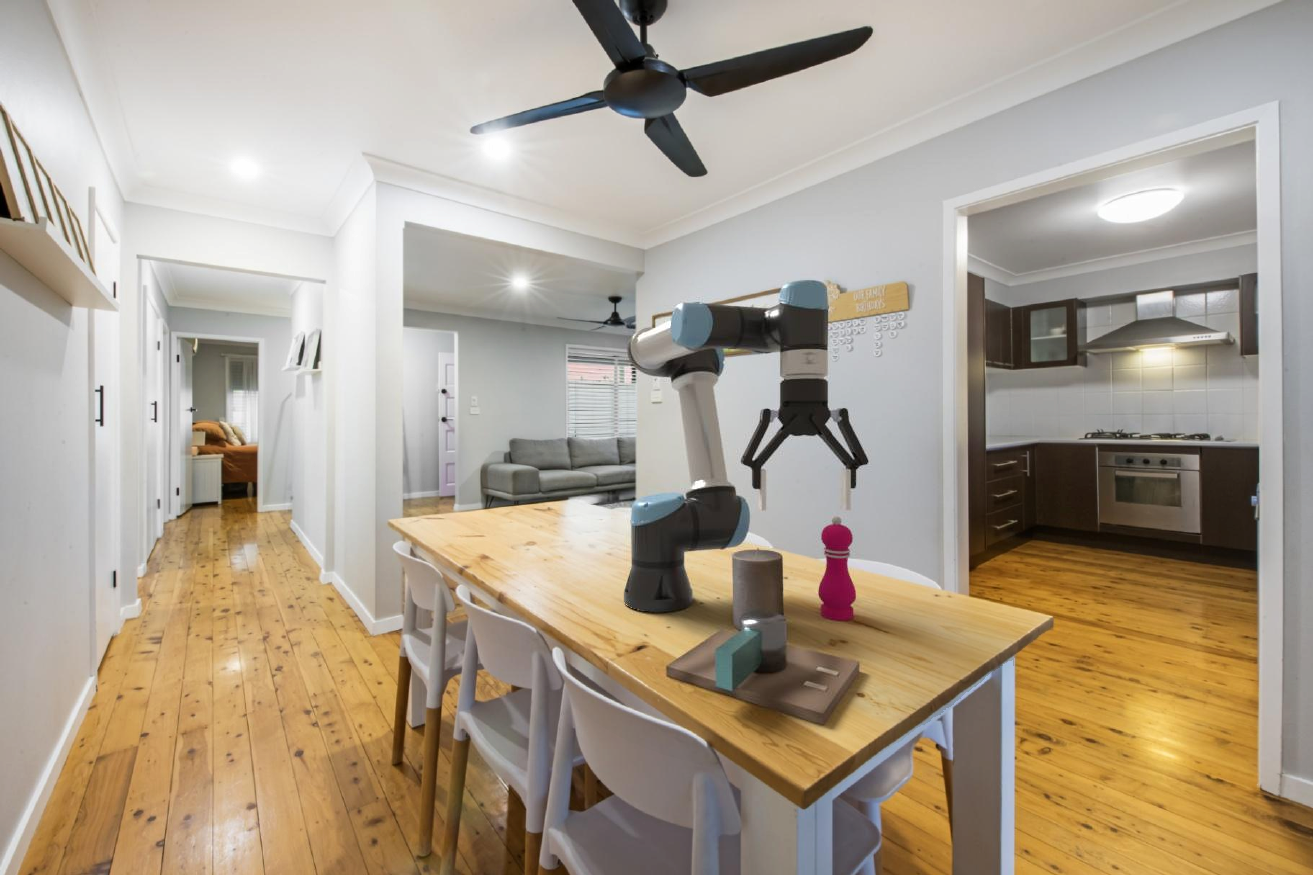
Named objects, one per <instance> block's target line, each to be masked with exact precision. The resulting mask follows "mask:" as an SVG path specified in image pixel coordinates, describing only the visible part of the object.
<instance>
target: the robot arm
mask: <svg viewBox="0 0 1313 875" xmlns="http://www.w3.org/2000/svg"><path fill="white" fill-rule="evenodd" d="M828 299H829V298H828V286H827V285H826V284H825V283H824V282H822V281H819V280H815V279H814V280H813V279H800V280H793V281H791V282H788V283H787V282H786V283H785V284H783V286H782V287H781V289H780V291H779V298H778V302H779V303H778V304H776V305H773V306H771V307H758V306H756V307H755V306H741V305H740V306H739V305H726V304H714V303H706V302H705V303H704V302H700V301H693V302H680V303H679V304H677V305H676V306H675V307H674V311H673V312H672V314H671V317H670V318H671V319H670V320H668V321H666V322H664V323H662V324H660V325H658V326H656V327H650V326H649V327H644V328H641V329H640V330H638V331H636V332H634V334H632V336H631V337H630V339H629V341H628V343H627V349H626V352H627V357H628V360H629V363H630V364H632V366H633V367H634V368H635V369H636V370H637V371H639V372H640V373H642V374H644V375H647V376H650V377H657V378H670V382H671V387H672V388H673V389H674V390H675V391H677V392H678V397H679V404H680V411H681V412H680V413H681V419H682V420H681V421H682V427H683V428H682V429H683V434H684V442H685V451H686V457H687V463H688V464H687V466H688V472H689V481H690V486H689V488H688V489H687V490H686V491H685V497H684V494H683V493H680V492H667V493H666V492H663V493H661V492H660V493H654V494H650V495H646V496H642V497H640V498H638V499H636V500H635V501H634V502H633V503H632V505H631V510H630V511H631V513H630V514H631V515H630V521H629V523H630V527H631V528H630V530H631V531H630V532H631V533H630V534H631V535H630V540H631V541H630V543H631V545H630V546H631V549H630V550H631V566H630V570H629V574H628V577H627V581H626V583H625V588H624V590H623V603H624V602H625V604H627V605H628V606H629V607H632V608H635V609H639V610H643V611H642V612H644V611H649V612H648V613H670V612H676V610H677V611H680V609H681V610H684V609H686V608H688V607H690V606H691V605H692V604H693V596H694V595H693V593H694V592H693V589H692V587H691V583H690V579H689V577H688V572H687V570H686V567H685V553H686V552H687V553H688V552H697V551H699V552H701V551H710V550H726V549H730V548H731V549H732V548H735V547H738V546H740V545H741V544H743V542H744V541H745V540H746V539H747V535H748V532H749V529H750V526H751V525H750V523H751V512H750V511H751V510H750V507H749V504H748V502H747V500H746V498H745V497H743V496H741V495H737V491H736V486H735V485H734V484H732V483H731V482H730V481H729V479H728V475H727V468H726V463H725V456H724V448H723V442H722V434H721V429H720V423H719V417H718V409H717V403H716V397H715V396H716V395H715V391H714V390H715V389H714V387H715V386H716V385H717V384H718V383H717V382H719V377H720V376H721V375H722V374H723V372H724V367H725V364H724V362H725V352H724V351H725V350H735V351H736V350H737V351H748V352H750V353H752V354H755V355H760V354H761V355H762V354H766V355H767V354H771V353H774V352H776V351H778V350H779V376H780V378H782V379H783V380H781V382H780V383H779V408H778V410H775V409H770V408H768V407H767V408H762V409H761V410H760V413H759V414H760V415H759V422H758V424H757V426H756V429H755V431H754V433H753V435H752V436H751V438H750V440H749V442H748V444H747V445H746V446H747V447H746V448H745V450H744V452H743V454H742V456H741V459H740V463H741V464H742V465H743V466H747V467H748V468H751V486H752V488H753V489H754V490H757V491H758V492H757V497H758V498H757V499H758V500H757V503H758V504H757V508H758V509H759V510H760V511H767V469H764V468H762V467H763V466H764V465H765V464H766V463H767V462H768V461H769V459H770V458H771V457H772V456H773V454H774V453H775V452H776V451H777V449H779V447H780V446H781V445H782V444H783V443H784V441H785V440H786V439H787V438H788V437H789V436H790V435H791V436H792V437H802V436H806V437H815V436H818V437H819V438H820V439H822V441H823V443H825V444H826V445H827V447H828V448H829V449H830V450H831V452H832V453H833V454H834V455H835V456H836V457H837V458H838V460H839V461H840V462H841V463H842V464H843V466H844V467H843V468H842V467H841V468H839V508H841V509H843V510H845V511H851V510H852V509H851V504H852V503H851V501H852V500H851V498H852V496H851V489H856V488H857V470H858V469H859V468H860V467H862V466H866V465H868V463H869V459H868V456H867V454H866V452H865V450H864V448H863V446H862V444H861V442H860V440H859V439H858V437H857V435H856V433H855V430H854V428H853V426H852V424H851V422H850V416H849V410H848V408H846V407H841V408H837V409H831V410H830V408H829V381H828V380H827V379H825V377H827V376H828V375H829V370H828V369H829V362H828V361H829V350H828V347H829V346H828V345H829V309H830V306H829V301H828ZM776 418H777V419H778V421H779V422H780V423H781V425H782V426H781V427H779V429H778V430H777V432H775V435H773V437H772V439H770V440H769V442H768V443H767V445H765V447H764V448H763V449H762V450H761V451H760V452H759V454H758V455H757V456H756V457H755V455H756V453H757V450H758V449H759V446H760V445H761V443H762V440H763V439H764V437H765V434H766V432H767V430H768V428H769V426H770V423H773V422H774V421H775V419H776ZM831 418H832V420H833V422H834V423H836V424H837V426H838V429H839V431H840V433H841V435H842V437H843V439H844V441H845V443H846V446H847V447H848V449H849V451H850V453H851V454H850V453H849V452H848V451H847V450H846V449H845V447H843V445H842V444H841V442H839V440H838V439H837V438H836V436H834V434H833V433H832V431H831V430H830V429H829V427H828V426H827V425H826V424H827V423H828V421H829V420H830V419H831ZM851 455H852V456H851ZM754 457H755V459H753V458H754ZM625 604H624V605H625ZM628 606H627V607H628ZM629 607H628V608H629ZM632 608H631V609H632ZM635 609H634V610H635ZM639 610H638V611H639Z"/></svg>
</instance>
